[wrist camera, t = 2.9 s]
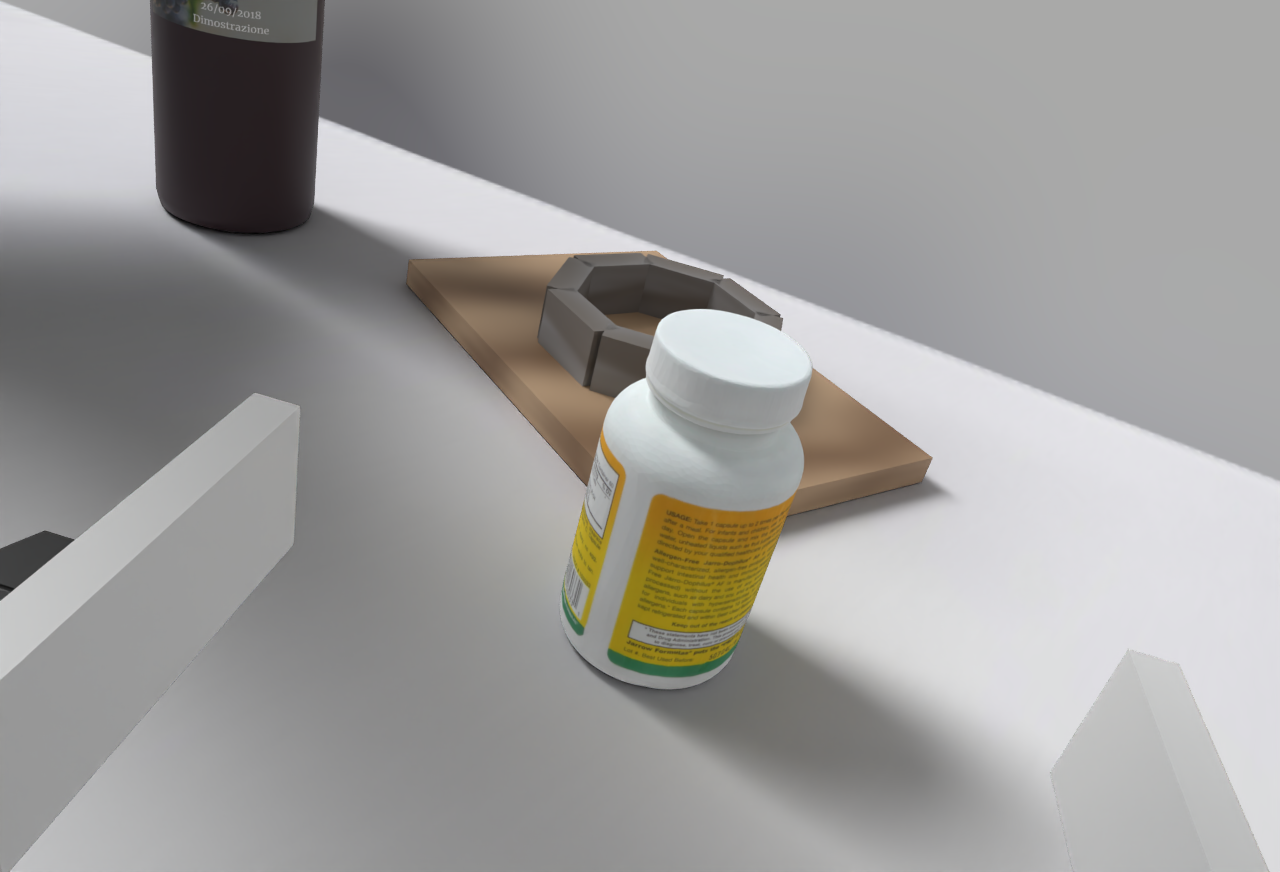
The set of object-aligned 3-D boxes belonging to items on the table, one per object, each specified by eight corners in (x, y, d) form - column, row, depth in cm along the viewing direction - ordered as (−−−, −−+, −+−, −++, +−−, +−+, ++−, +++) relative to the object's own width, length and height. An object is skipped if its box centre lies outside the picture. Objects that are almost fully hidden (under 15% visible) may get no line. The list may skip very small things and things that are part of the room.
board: (406, 283, 45) (414, 209, 43) (651, 271, 53) (667, 208, 51) (645, 551, 32) (671, 461, 30) (921, 481, 40) (955, 407, 38)
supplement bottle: (518, 615, 28) (582, 318, 23) (635, 547, 32) (710, 280, 27) (660, 729, 26) (765, 424, 21) (768, 641, 30) (876, 366, 25)
